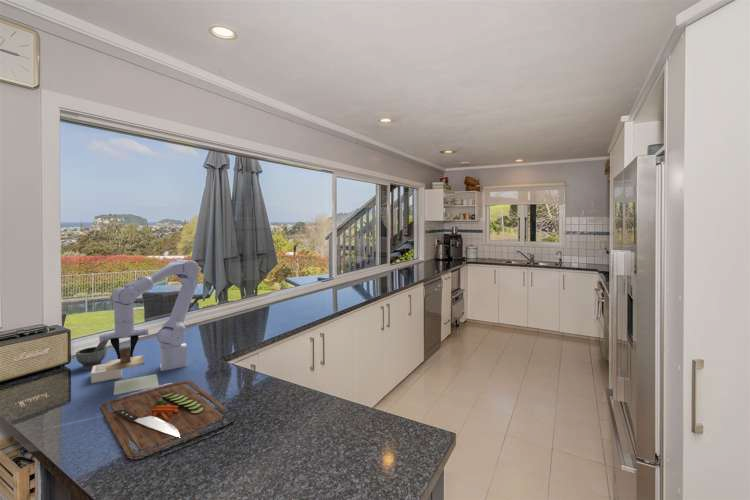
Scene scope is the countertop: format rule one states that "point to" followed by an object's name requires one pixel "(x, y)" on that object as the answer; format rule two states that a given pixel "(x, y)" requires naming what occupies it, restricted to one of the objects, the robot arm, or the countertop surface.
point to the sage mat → (135, 384)
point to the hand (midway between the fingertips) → (125, 357)
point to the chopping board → (160, 416)
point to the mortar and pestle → (92, 355)
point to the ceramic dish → (104, 374)
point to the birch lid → (124, 360)
